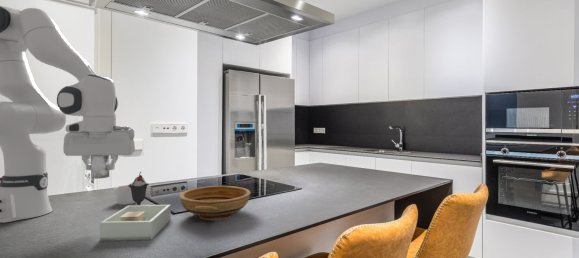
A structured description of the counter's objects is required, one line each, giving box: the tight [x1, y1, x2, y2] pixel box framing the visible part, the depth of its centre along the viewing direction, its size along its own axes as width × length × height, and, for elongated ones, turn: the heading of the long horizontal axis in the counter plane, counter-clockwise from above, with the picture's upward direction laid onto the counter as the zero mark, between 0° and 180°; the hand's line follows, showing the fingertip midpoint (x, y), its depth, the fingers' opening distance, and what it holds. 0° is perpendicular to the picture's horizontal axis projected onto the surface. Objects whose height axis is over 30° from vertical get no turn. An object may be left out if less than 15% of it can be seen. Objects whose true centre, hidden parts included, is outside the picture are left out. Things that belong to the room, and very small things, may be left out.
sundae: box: [127, 171, 150, 205], centre depth 111 cm, size 7×7×15 cm
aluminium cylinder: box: [90, 156, 110, 180], centre depth 98 cm, size 5×5×7 cm
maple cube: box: [120, 212, 145, 221], centre depth 89 cm, size 5×5×5 cm
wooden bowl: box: [178, 185, 252, 221], centre depth 108 cm, size 30×24×8 cm
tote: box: [99, 204, 172, 242], centre depth 93 cm, size 18×14×5 cm
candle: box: [113, 184, 137, 206], centre depth 124 cm, size 9×9×6 cm
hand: (100, 169), depth 98 cm, fingers closed on aluminium cylinder, 5 cm apart
